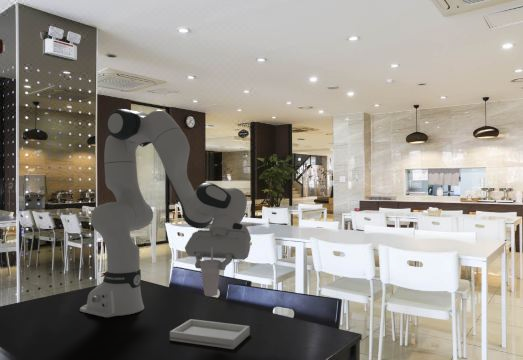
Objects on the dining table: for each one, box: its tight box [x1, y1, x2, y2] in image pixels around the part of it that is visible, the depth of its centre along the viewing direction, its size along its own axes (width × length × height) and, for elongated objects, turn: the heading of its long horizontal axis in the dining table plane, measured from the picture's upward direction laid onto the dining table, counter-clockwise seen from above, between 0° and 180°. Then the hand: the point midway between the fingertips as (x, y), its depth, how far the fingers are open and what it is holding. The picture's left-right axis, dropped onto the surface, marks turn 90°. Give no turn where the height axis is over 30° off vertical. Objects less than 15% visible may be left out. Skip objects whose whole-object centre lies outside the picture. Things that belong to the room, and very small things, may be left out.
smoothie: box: [199, 247, 222, 297], centre depth 123 cm, size 6×6×14 cm
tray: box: [169, 318, 251, 350], centre depth 123 cm, size 20×12×2 cm, turn 70°
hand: (209, 268), depth 123 cm, fingers closed on smoothie, 6 cm apart
